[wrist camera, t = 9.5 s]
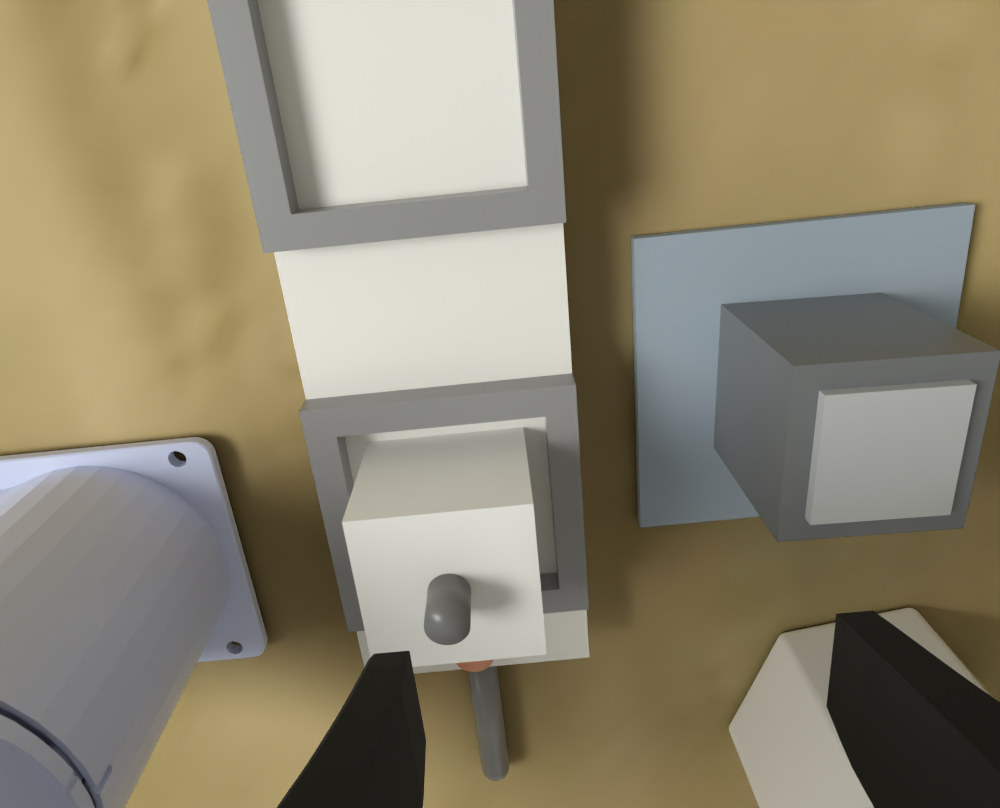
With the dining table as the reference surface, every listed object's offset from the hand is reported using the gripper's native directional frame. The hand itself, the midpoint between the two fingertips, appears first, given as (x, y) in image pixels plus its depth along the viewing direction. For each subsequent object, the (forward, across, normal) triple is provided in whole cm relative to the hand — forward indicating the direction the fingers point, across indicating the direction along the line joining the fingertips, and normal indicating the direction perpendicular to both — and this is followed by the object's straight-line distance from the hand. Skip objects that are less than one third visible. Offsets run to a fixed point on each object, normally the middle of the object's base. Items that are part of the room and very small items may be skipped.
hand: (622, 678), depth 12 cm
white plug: (+8, +3, +1) cm, 9 cm away
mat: (+10, -7, -1) cm, 12 cm away
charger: (+10, -7, -1) cm, 12 cm away
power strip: (+10, +3, -1) cm, 11 cm away
